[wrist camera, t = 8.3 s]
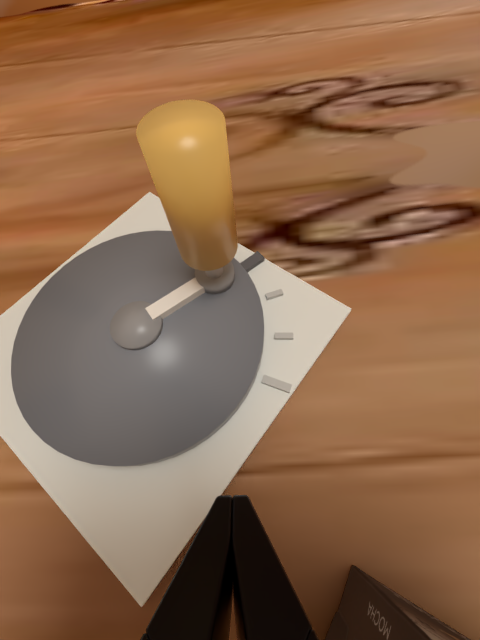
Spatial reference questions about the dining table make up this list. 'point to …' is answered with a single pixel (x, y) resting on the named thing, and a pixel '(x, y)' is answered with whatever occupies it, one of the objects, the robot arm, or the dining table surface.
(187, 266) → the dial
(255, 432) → the panel
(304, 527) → the dining table surface
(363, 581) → the coffee box
